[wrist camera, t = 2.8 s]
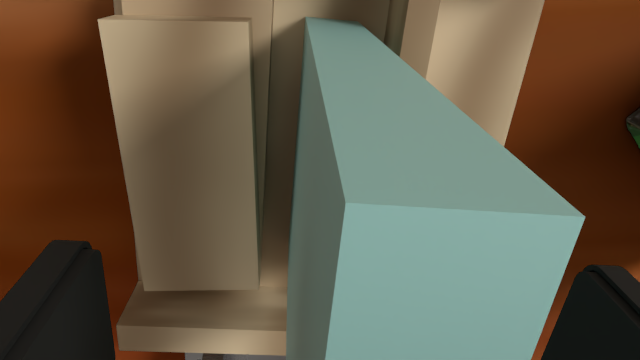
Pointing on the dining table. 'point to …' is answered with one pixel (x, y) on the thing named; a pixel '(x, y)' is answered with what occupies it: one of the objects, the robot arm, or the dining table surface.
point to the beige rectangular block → (193, 135)
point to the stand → (231, 356)
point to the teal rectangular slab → (410, 218)
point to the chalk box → (634, 125)
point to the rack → (286, 63)
